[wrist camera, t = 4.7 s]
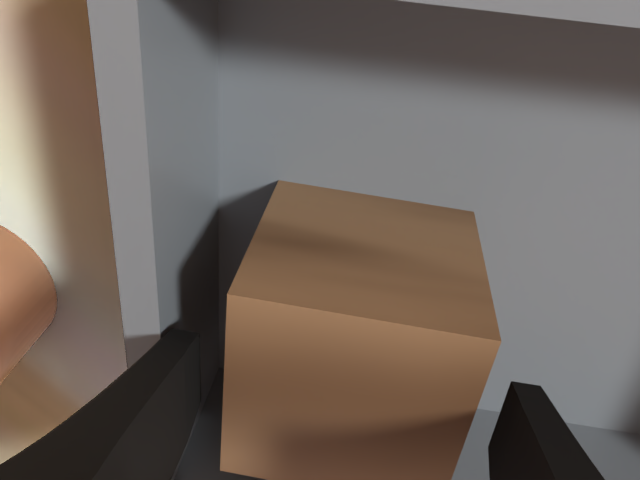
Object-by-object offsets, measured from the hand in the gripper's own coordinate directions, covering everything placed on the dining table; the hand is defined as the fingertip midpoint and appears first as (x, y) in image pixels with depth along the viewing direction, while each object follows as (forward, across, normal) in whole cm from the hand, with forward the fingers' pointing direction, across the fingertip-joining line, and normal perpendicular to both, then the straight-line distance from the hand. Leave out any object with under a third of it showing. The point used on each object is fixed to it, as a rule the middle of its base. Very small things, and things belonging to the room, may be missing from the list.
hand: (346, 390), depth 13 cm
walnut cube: (+4, 0, 0) cm, 4 cm away
